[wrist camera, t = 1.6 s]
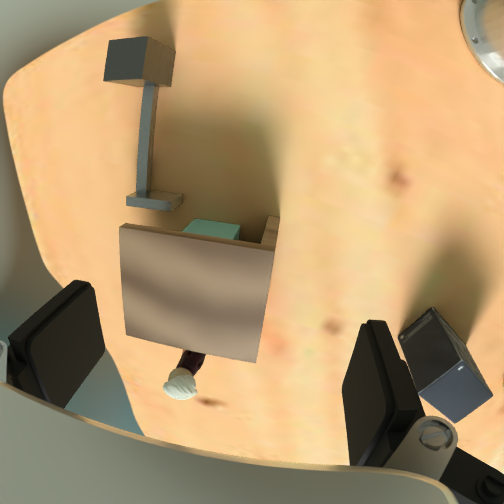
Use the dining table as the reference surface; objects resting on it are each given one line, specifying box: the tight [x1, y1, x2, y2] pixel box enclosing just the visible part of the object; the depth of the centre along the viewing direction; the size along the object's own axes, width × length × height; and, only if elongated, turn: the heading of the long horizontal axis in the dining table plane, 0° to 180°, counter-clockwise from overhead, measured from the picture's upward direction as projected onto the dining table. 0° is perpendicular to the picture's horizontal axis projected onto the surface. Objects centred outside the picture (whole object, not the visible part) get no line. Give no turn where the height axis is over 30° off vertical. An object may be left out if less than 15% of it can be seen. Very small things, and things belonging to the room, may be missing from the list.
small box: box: [398, 307, 493, 423], centre depth 32 cm, size 11×6×10 cm, turn 50°
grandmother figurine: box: [163, 349, 206, 400], centre depth 34 cm, size 8×4×13 cm, turn 155°
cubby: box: [119, 216, 280, 363], centre depth 32 cm, size 11×13×10 cm
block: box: [182, 218, 241, 240], centre depth 34 cm, size 5×5×5 cm
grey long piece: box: [103, 36, 183, 212], centre depth 28 cm, size 16×6×7 cm, turn 173°
